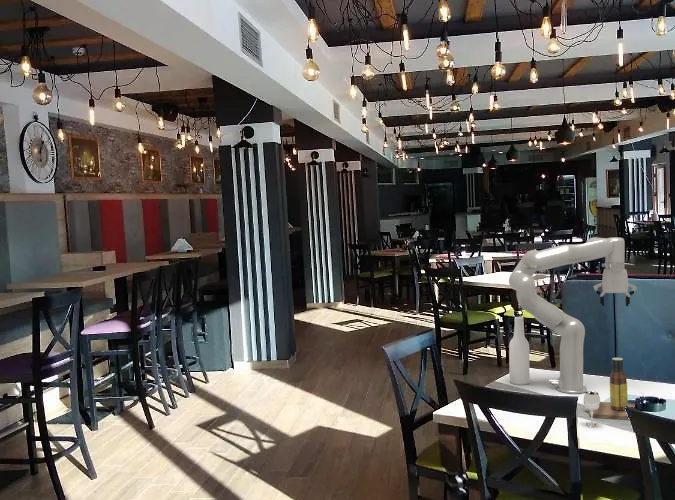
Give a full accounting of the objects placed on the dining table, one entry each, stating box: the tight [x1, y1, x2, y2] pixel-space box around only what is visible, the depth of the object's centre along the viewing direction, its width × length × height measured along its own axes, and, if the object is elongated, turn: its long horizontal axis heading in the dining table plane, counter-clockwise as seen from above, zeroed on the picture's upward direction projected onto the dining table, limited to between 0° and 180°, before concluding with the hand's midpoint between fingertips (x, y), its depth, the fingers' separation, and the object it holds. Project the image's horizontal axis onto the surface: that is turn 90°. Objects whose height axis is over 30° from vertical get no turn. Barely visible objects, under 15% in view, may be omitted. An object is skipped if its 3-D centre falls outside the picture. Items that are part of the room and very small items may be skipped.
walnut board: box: [587, 401, 636, 421], centre depth 258 cm, size 20×16×2 cm
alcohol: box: [508, 316, 531, 386], centre depth 301 cm, size 9×9×30 cm
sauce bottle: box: [609, 357, 629, 411], centre depth 257 cm, size 6×6×20 cm
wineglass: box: [583, 390, 601, 428], centre depth 245 cm, size 6×6×12 cm
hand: (614, 305), depth 287 cm, fingers open, 9 cm apart
